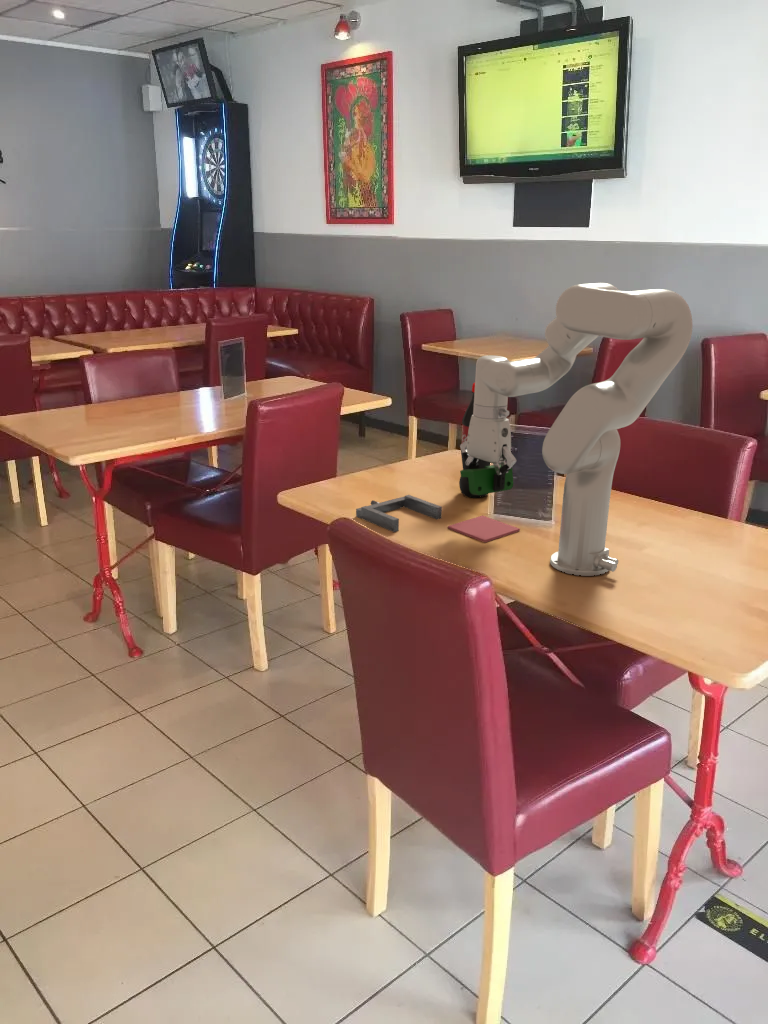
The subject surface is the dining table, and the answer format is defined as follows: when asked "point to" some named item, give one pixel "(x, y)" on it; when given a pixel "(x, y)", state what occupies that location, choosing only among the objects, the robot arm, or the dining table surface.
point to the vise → (379, 518)
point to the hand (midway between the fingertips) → (485, 485)
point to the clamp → (485, 480)
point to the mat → (483, 528)
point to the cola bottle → (465, 427)
